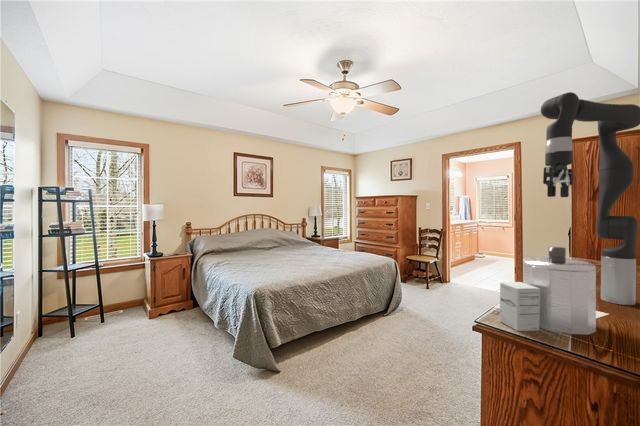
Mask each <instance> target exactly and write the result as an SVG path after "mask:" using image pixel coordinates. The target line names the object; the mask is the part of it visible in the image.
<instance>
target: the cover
mask: <svg viewBox="0 0 640 426" xmlns="http://www.w3.org/2000/svg"><path fill="white" fill-rule="evenodd" d="M566 249H567V248H566V247H562V246H548V256H533V257H531V256H530V257H524V258H522V263H523V283H525V284H528V285H531V286H534V287H537V288H540V319H539V329H542V330H546V331H548V332H551V333H556V334H557V333H558V334H563V335H565V334H570V335H587V336H588V335H592V334H594V333H596V332H597V318H596V311H597V269H596V268H597V267H596V264H594V263H592V262H588V261H585V260H584V261H583V260H579V259H574V258H573V259H571V258H566V253H567V252H566Z"/></svg>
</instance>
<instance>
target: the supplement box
mask: <svg viewBox="0 0 640 426" xmlns="http://www.w3.org/2000/svg"><path fill="white" fill-rule="evenodd" d="M499 285H500V286H499V322H500V323H503V325H506V326H508V327H509V328H511V329H513V330H515V331H516V332H531V331H532V332H533V331H534V332H535V331H536V332H537V331H540V328H539V319H540V288H537V287H534V286H531V285H528V284H525V283H524V282H522V281H507V282H506V281H504V282H502V281H501V282H500V283H499Z"/></svg>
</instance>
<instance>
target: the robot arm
mask: <svg viewBox="0 0 640 426" xmlns="http://www.w3.org/2000/svg"><path fill="white" fill-rule="evenodd" d="M540 113H541V115H542V116H543V117H544V118H546V119H548V120H549V119H550V120H554V122H552V123H550V124H548V125H547V126H546V135H545V136H546V139H545V140H546V142H545V148H544V149H545V155H544V156H545V157H544V160H545V161H544V164H545V167H543V179H542V184H543V185H545V186H546V188H547V192H546V194H547V195H546V196H547V197H548V198H551V197H553V198H555V197H556V195H557V193H556V192H557V186H556V185H557V183H559V186H560V189H559V190H560V193H559V194H560V195H559V196H560V197H561V198H568V197H570V196H569V195H570V193H569V191H570V190H569V189H570V187H571V186H572V185H573V184H574V182H573V181H574V175H573V172H574V171H573V168H568V165H569V166H570V165H572V164H573V163H574V162H573V157H574V156H573V155H574V153H573V152H574V146H573V145H574V144H573V124H574V122H575V121H578V122H585V123H586V122H587V123H588V122H589V123H591V122H592V123H593V122H597V131H598V141H599V169H598V194H599V195H598V207H597V218H596V228H595V229H596V234H597V237H598V238H600V239H603V240H604V239H605V240H606V239H607V240H621V241H623V242H622V243H621V244H619V245H615V246H611V247H605V248H602V249H601V251H600V253H601V255H600V259H601V261H600V263H601V267H600V268H601V269H600V270H601V271H600V299H601V300H602V301H604V302H608V303H612V304H616V305H624V306H635V305H636V293H637V291H636V290H637V289H636V285H637V241H638V232H639V231H638V230H639V221H638V219H637V218H636V216H632V215H611V211H612V208H613V207H614V204H616V202H617V201H618V199H619V198H620V197H621V196H622V195H623V194H624V193H625V192H626V191H628V189H629V187H630V186H631V185H632V183H633V181H634V162H633V161H632V159H631V158H630V157H629V156H628V155H627V154H626V153H625V152H624V150H622V149H621V148H620V146H619V145H618V143H617V141H618V140H617V133H618V132H622V131H623V132H624V131H626V130H627V131H628V130H631V129H634V128H637V127H638V126H640V106H639V105H637V104H631V103H630V104H629V103H627V104H625V103H624V104H620V103H619V104H617V103H602V102H596V101H590V100H586V99H583V98H582V99H581V98H579V96H578V95H577V93H574V92H572V91H569V92H565V93H562V94H560V95H556V96H553V97H551V98H549V99H547V100H545V101H544V102H543V103H542V104H541V106H540Z"/></svg>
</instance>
